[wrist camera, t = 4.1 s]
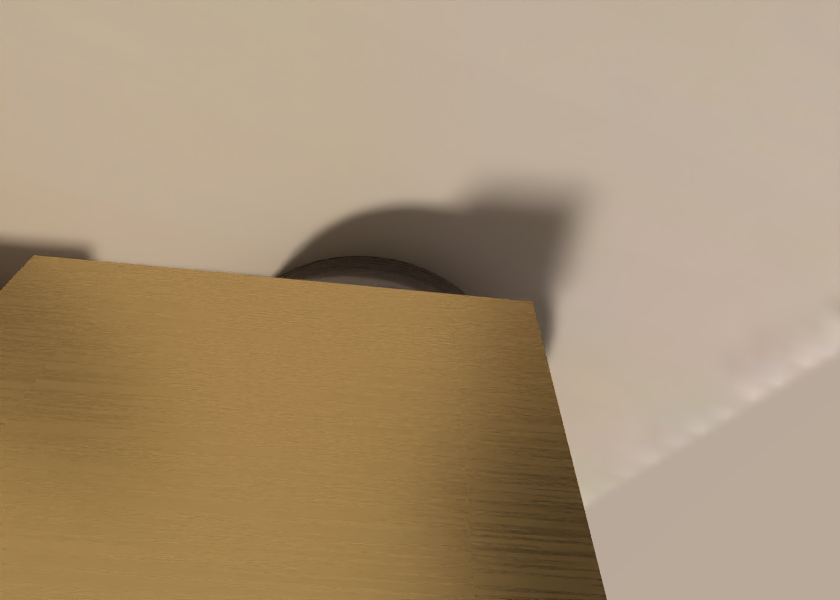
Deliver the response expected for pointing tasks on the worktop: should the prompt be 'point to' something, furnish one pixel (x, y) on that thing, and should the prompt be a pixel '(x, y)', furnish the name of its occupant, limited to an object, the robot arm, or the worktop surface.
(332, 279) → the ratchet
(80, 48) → the worktop surface
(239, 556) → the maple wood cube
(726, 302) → the worktop surface
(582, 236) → the worktop surface
